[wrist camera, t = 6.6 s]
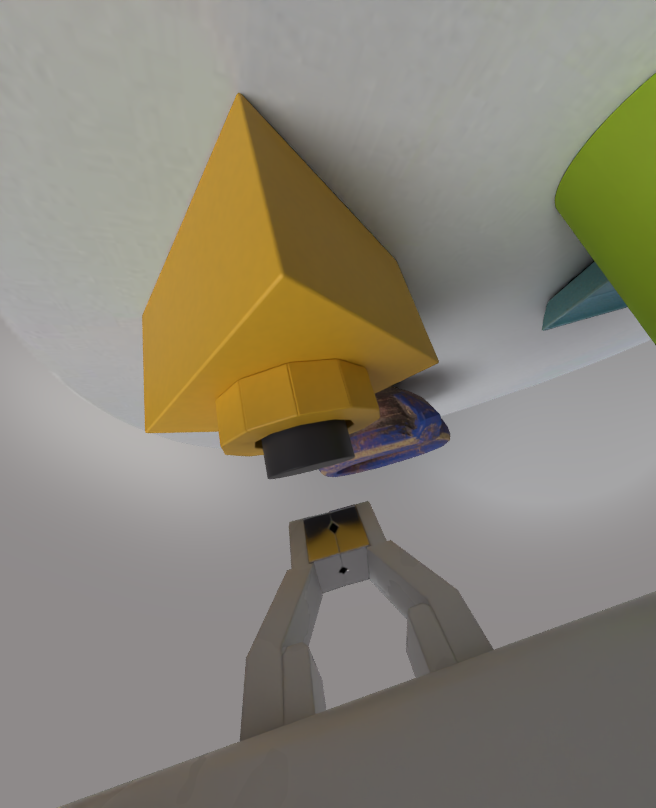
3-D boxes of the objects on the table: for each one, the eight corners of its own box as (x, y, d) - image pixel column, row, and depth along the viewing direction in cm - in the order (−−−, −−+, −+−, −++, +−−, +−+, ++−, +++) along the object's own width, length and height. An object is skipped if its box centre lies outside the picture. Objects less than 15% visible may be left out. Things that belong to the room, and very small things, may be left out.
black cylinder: (298, 410, 8) (309, 463, 8) (360, 414, 11) (371, 453, 10) (243, 441, 10) (250, 484, 10) (306, 437, 13) (314, 471, 12)
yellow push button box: (237, 89, 6) (302, 358, 4) (396, 260, 13) (455, 398, 11) (141, 315, 12) (145, 475, 10) (284, 353, 19) (306, 455, 17)
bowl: (438, 350, 26) (478, 442, 23) (419, 395, 43) (440, 451, 40) (283, 400, 29) (301, 487, 26) (322, 424, 46) (336, 478, 43)
